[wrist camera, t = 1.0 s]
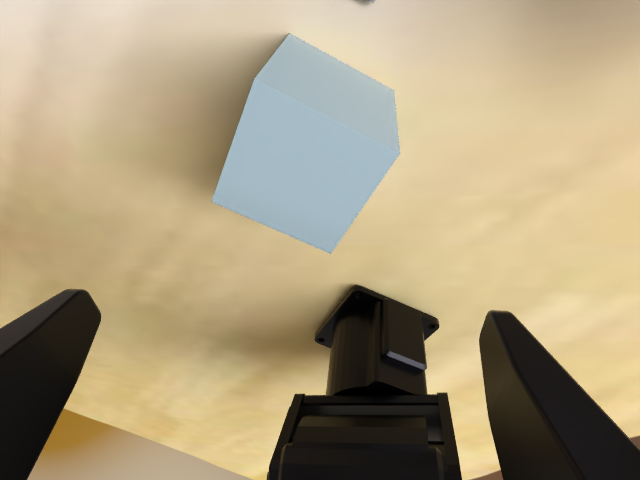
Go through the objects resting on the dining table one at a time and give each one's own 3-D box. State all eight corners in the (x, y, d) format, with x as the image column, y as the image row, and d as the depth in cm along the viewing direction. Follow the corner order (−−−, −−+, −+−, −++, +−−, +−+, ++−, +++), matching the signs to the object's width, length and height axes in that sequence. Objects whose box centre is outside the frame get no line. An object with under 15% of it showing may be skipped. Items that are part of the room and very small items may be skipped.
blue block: (341, 177, 20) (330, 253, 15) (251, 133, 19) (211, 201, 14) (394, 89, 17) (399, 153, 12) (289, 32, 16) (254, 78, 11)
